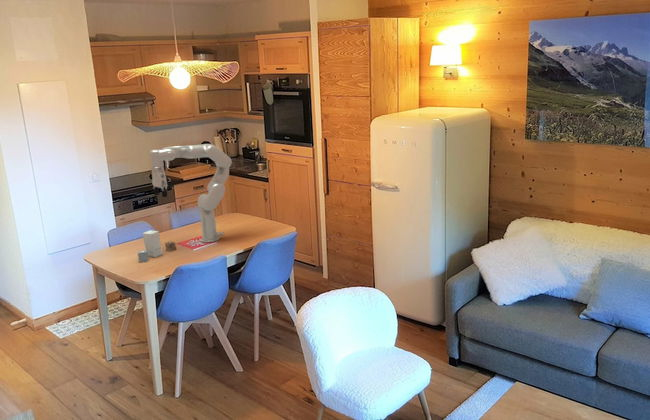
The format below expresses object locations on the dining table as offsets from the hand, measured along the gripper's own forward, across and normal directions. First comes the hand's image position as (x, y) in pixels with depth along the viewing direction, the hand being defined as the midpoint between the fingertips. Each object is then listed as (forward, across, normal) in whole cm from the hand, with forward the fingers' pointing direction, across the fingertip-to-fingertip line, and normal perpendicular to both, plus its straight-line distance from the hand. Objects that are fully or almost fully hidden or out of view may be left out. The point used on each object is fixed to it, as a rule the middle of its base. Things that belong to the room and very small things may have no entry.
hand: (160, 195), depth 357 cm
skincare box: (+36, -4, +12) cm, 38 cm away
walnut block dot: (+36, -4, 0) cm, 36 cm away
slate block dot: (+36, -8, +21) cm, 43 cm away
